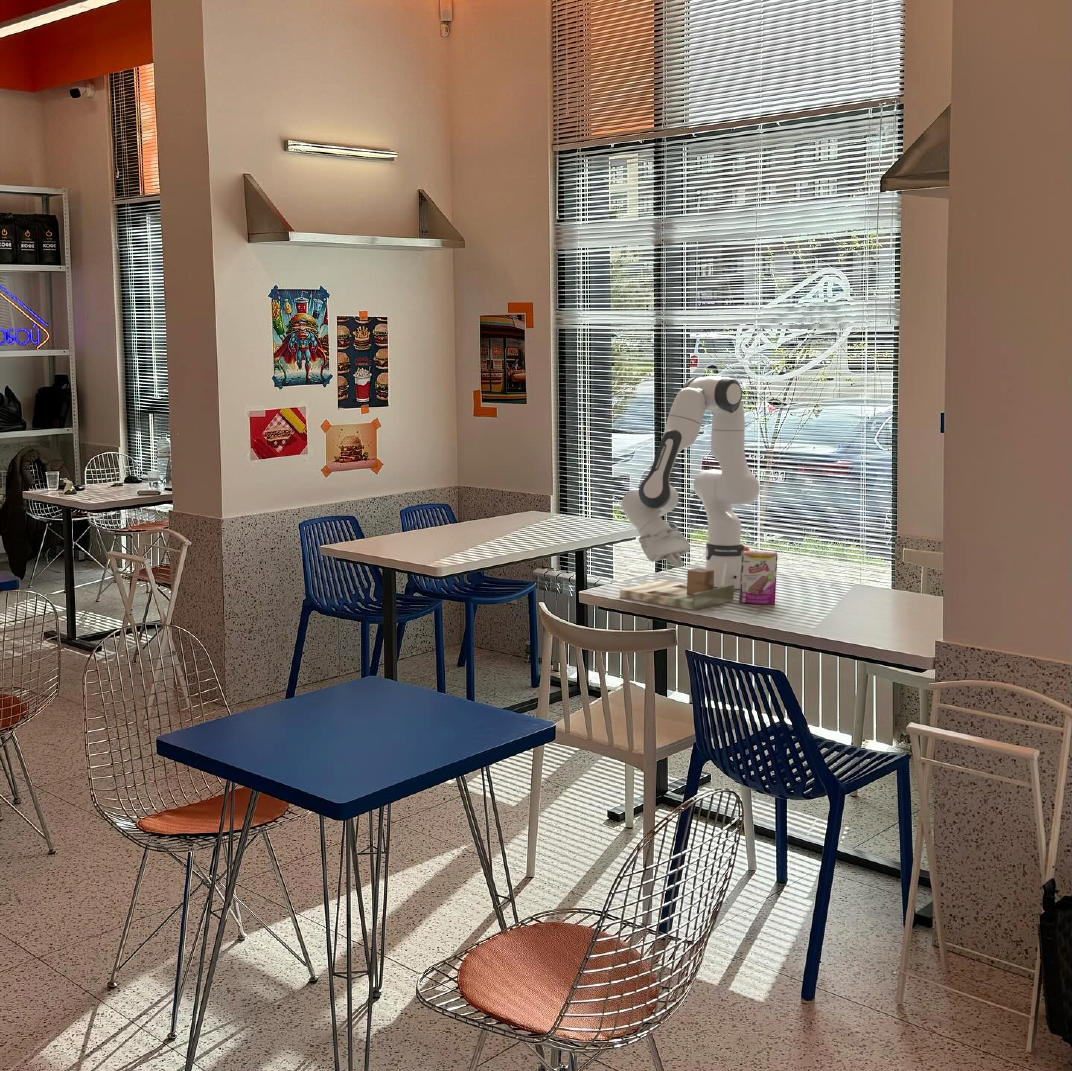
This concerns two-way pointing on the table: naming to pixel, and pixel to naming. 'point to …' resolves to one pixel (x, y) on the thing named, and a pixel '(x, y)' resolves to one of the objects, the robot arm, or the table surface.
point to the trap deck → (678, 595)
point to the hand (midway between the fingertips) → (680, 566)
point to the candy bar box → (758, 577)
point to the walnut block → (699, 580)
